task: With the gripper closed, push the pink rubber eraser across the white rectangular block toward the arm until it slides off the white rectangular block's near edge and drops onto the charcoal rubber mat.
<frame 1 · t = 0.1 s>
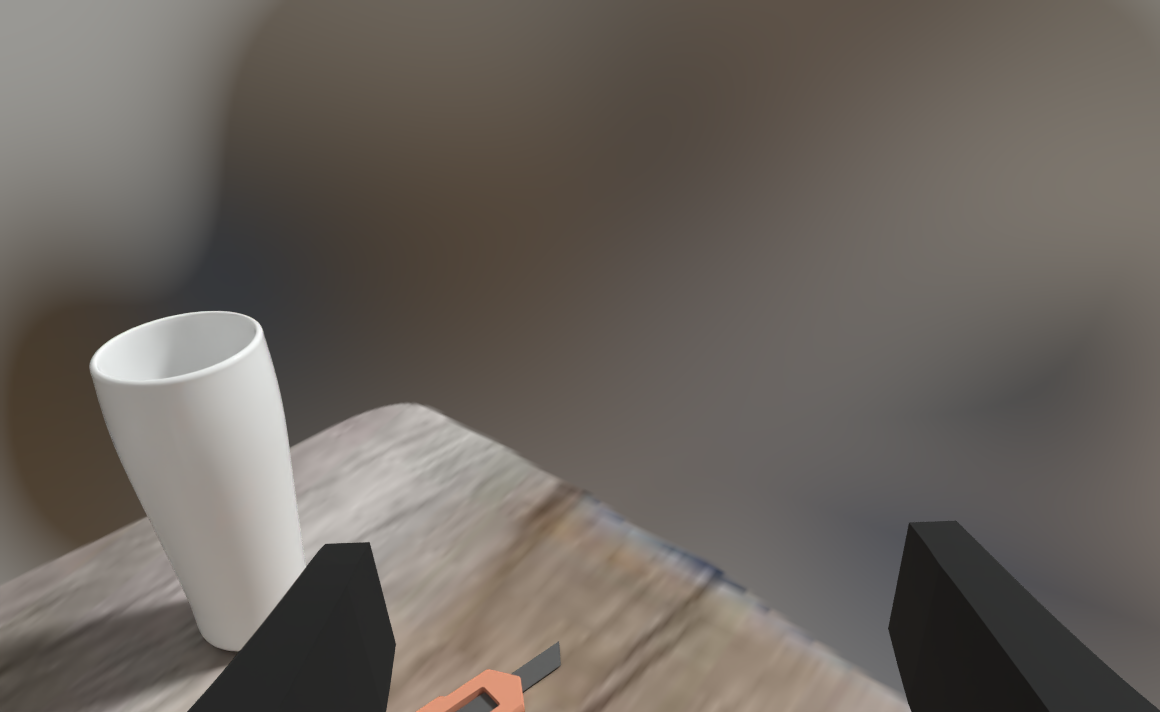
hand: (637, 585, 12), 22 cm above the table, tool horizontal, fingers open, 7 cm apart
drinking glass: (260, 618, 42), on the table
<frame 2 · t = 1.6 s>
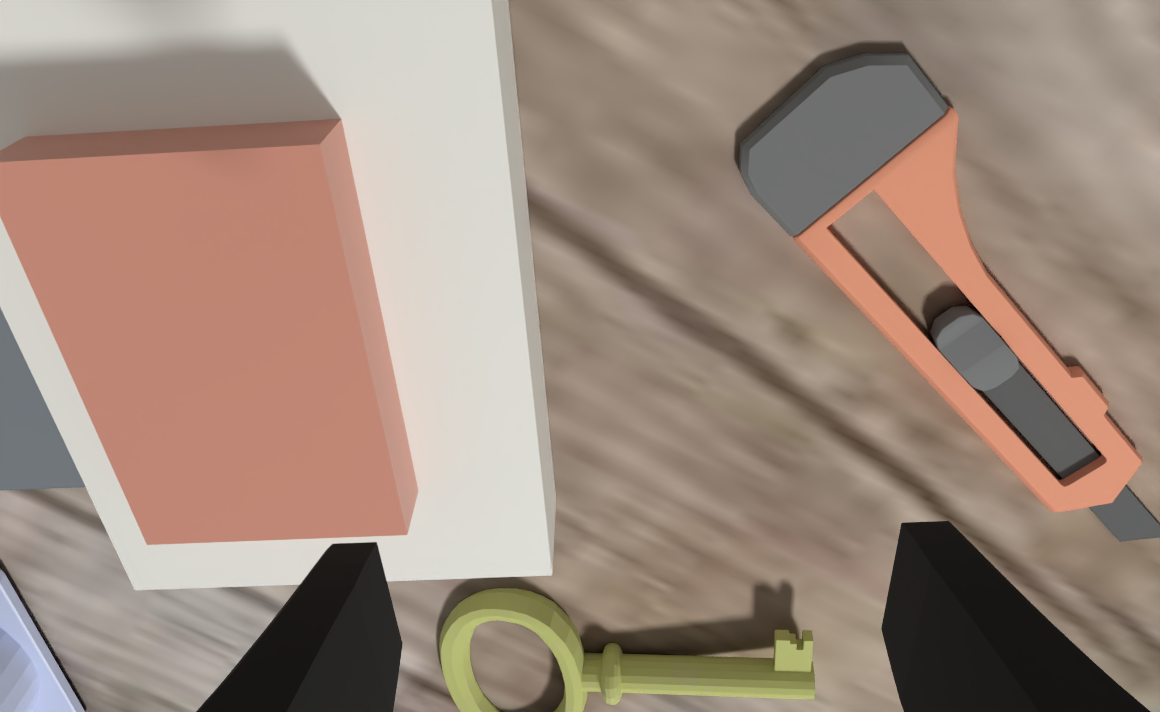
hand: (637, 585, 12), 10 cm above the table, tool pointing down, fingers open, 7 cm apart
key: (610, 641, 29), on the table
utility knife: (1004, 333, 22), on the table
white rectangular block: (308, 272, 21), on the table
pink rubber eraser: (246, 335, 18), point 3 cm above the table, touching white rectangular block
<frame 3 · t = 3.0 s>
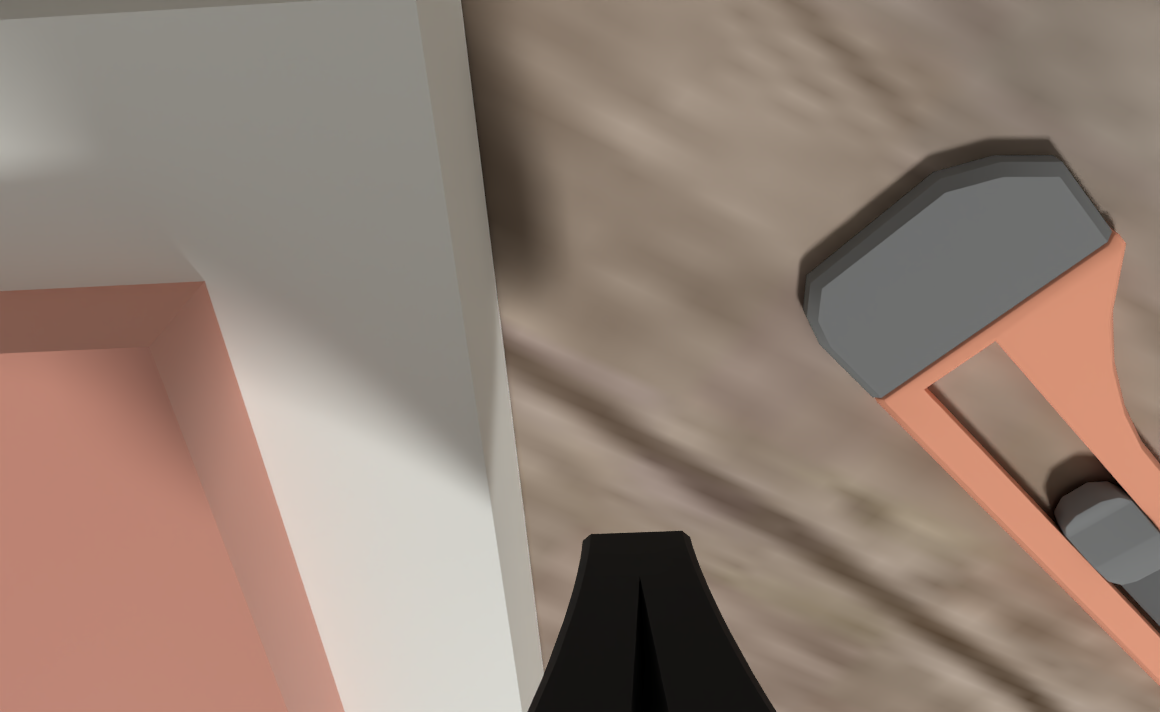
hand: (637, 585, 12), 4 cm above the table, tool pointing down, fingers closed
utility knife: (1148, 505, 16), on the table
white rectangular block: (205, 437, 15), on the table
pink rubber eraser: (94, 563, 13), point 3 cm above the table, touching white rectangular block
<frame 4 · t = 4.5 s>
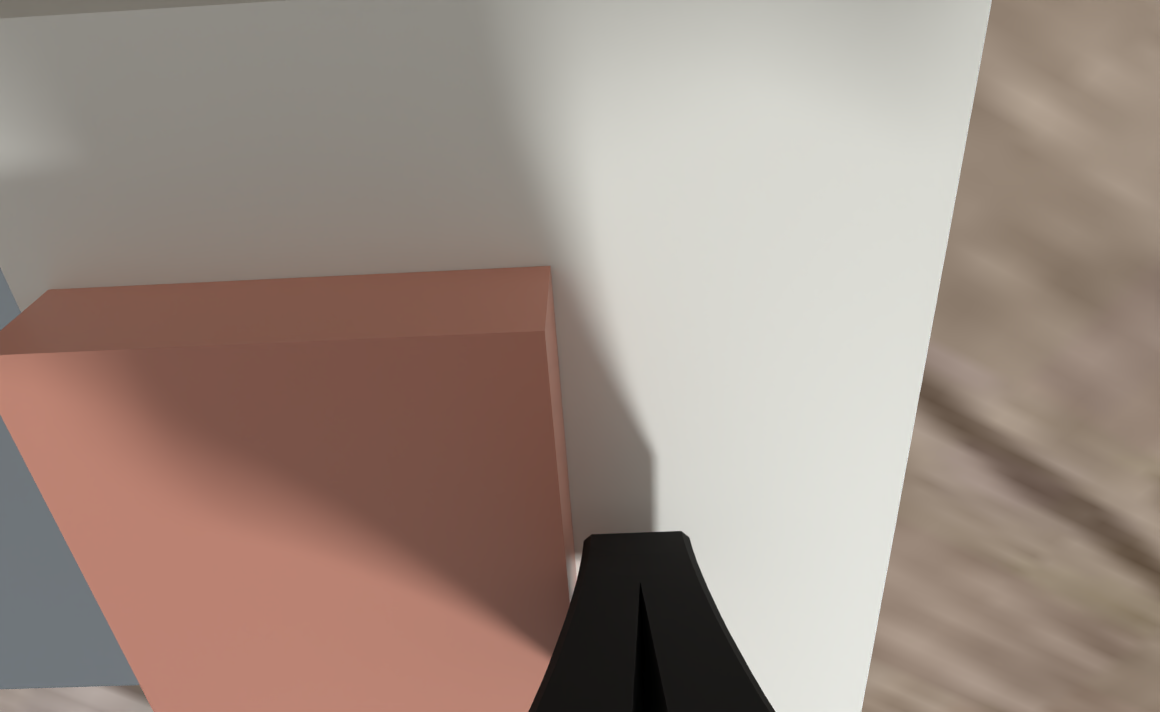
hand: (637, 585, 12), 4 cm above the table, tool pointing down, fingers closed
white rectangular block: (522, 424, 15), on the table
pink rubber eraser: (368, 554, 12), point 3 cm above the table, touching gripper, white rectangular block
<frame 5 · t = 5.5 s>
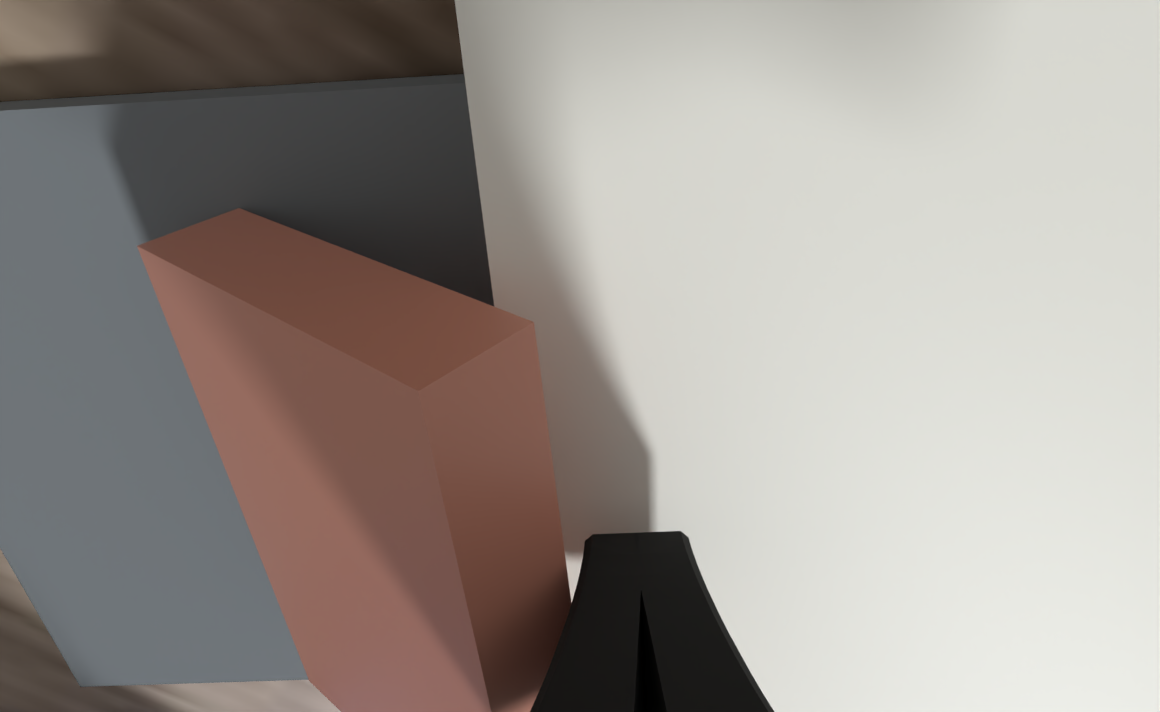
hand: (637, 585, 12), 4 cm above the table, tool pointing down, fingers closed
mat: (244, 436, 15), on the table
white rectangular block: (854, 409, 15), on the table
pink rubber eraser: (427, 526, 13), point 2 cm above the table, tilted 41°, touching gripper, mat
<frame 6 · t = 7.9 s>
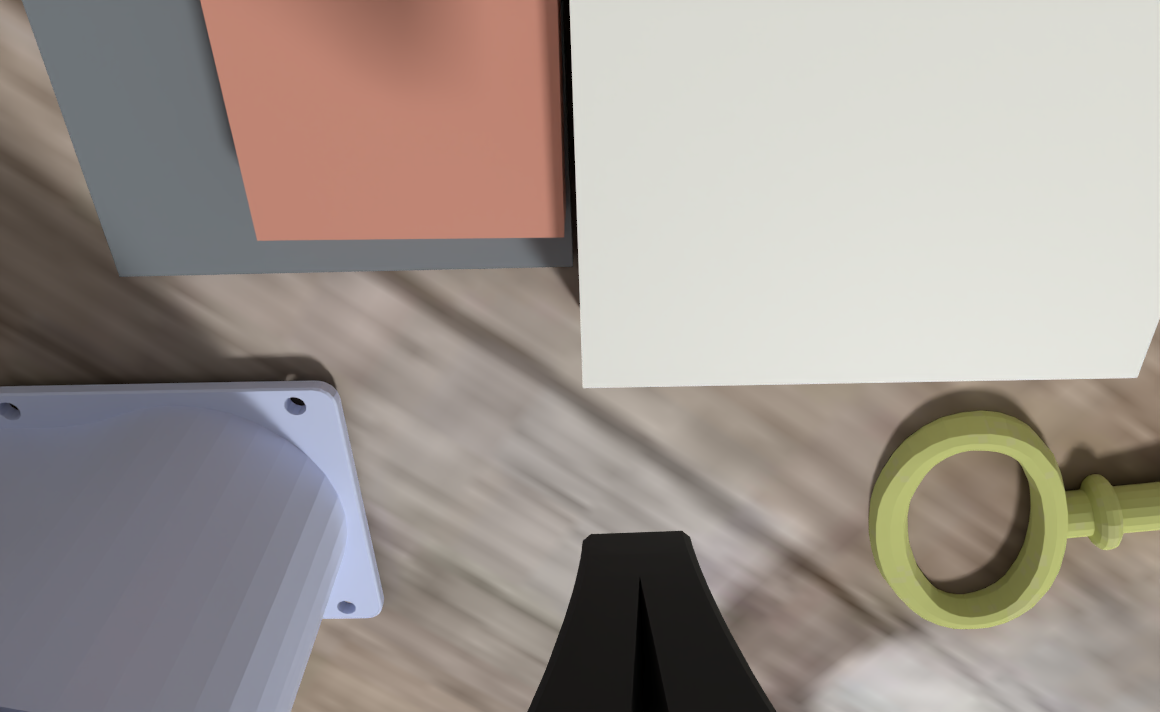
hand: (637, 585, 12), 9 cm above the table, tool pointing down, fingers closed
key: (1076, 479, 23), on the table
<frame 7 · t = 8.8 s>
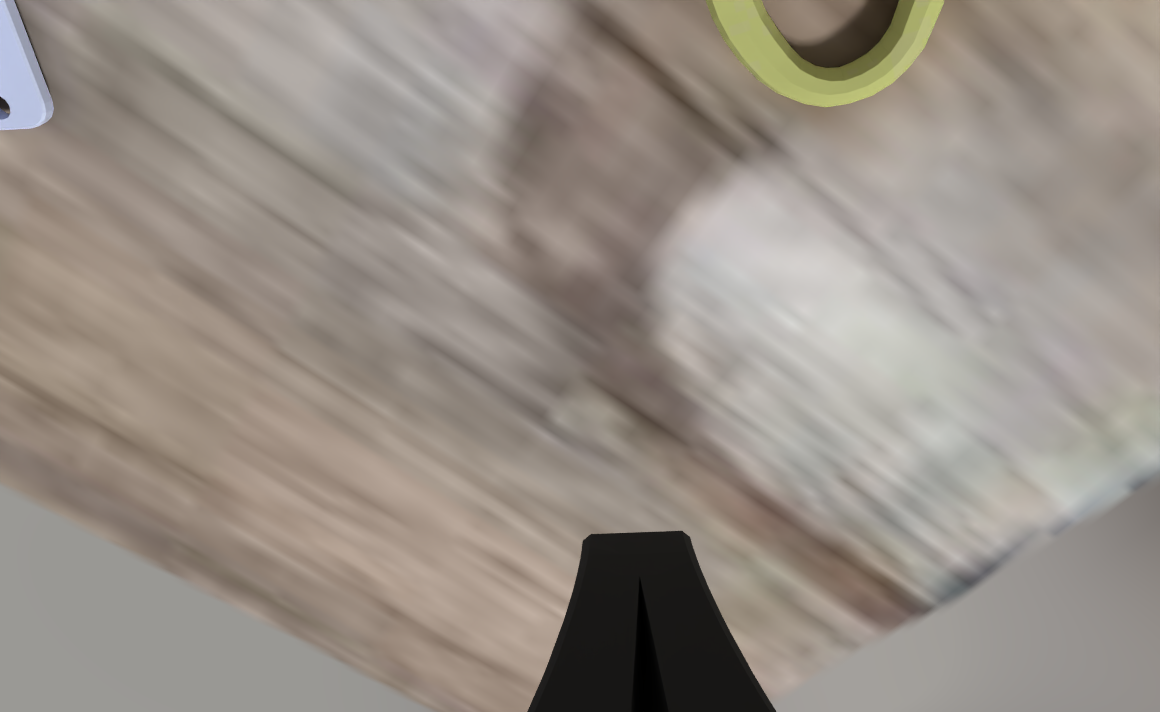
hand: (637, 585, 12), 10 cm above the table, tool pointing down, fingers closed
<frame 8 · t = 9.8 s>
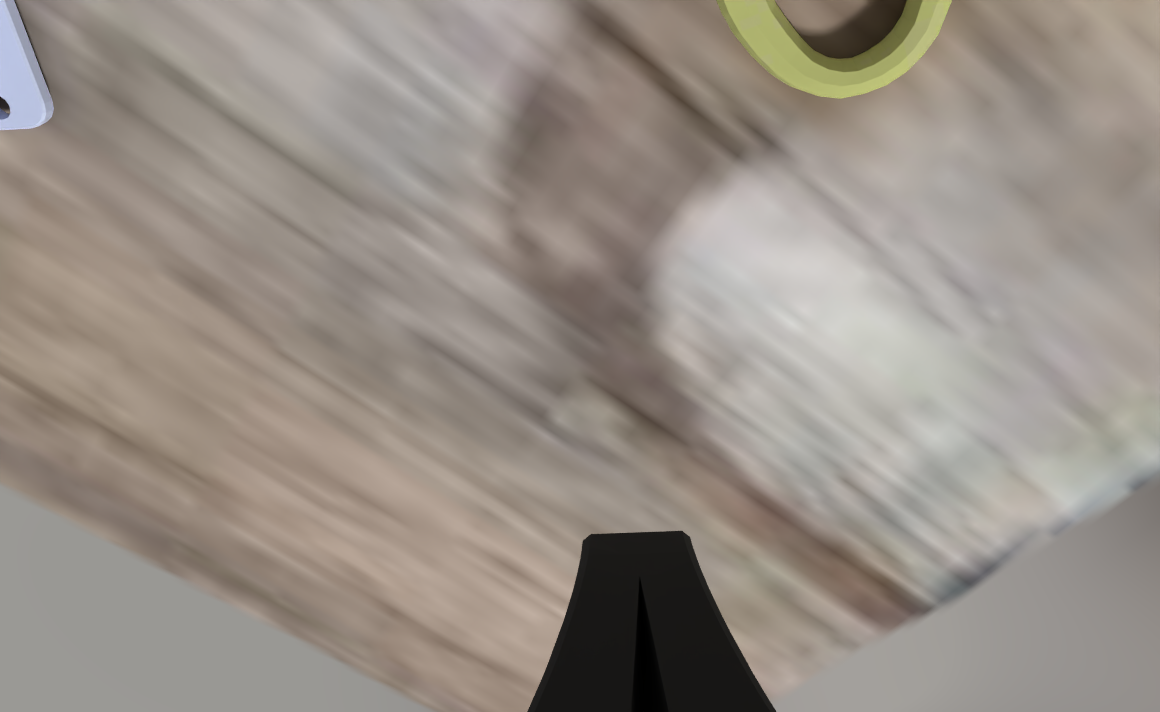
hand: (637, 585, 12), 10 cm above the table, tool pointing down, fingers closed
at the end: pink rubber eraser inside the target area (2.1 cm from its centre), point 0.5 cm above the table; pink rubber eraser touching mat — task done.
